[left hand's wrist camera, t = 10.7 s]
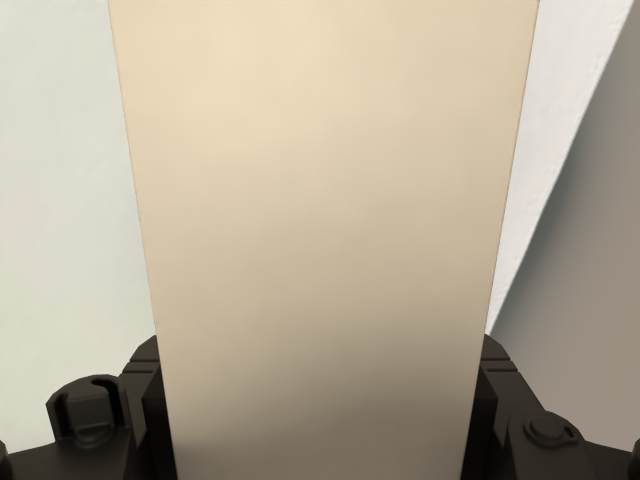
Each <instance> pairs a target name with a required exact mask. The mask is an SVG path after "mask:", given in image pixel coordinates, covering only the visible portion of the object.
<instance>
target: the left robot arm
mask: <svg viewBox="0 0 640 480" xmlns="http://www.w3.org/2000/svg"><path fill="white" fill-rule="evenodd" d="M46 408H47V411H48V415H49V419H50V422H51V426H52V430H53V433H54V437H55V442H54V443H51V444H48V445H45V446H41V447H37V448H32V449H28V450H24V451H20V452H16V453H11V454H8V452H7V449H6V446H5V444H4V443H3V442H2V441H1V440H0V480H178V479H177V472H176V465H175V458H174V451H173V444H172V438H171V431H170V424H169V417H168V410H167V403H166V397H165V390H164V383H163V376H162V369H161V363H160V356H159V349H158V342H157V335H154V336H152V337H151V338H150V339H148V340H147V341H145V342H144V343H143V344H141V345H140V346H139V347H138V348H137V350H136V351H135V353H134V354H133V356H132V357H131V359H130V362H128V363H127V365H126V366H125V368H124V369H123V371H122V374H120V375H119V377H116V376H112V375H109V374H103V375H92V376H88V377H84V378H80V379H77V380H75V381H73V382H71V383H69V384H66V385H64V386H63V387H62V388H60V389H59V390H58V391H56V392H55V393H54V394H53V395H52V396H51V397H50V399H49V400H48V401H47V403H46ZM460 480H640V439H639V440H637V441H636V442H635V445H634V448H633V451H632V452H628V451H624V450H619V449H615V448H611V447H607V446H602V445H598V444H595V443H592V442H588V441H585V439H584V438H583V436H582V435H581V433H580V432H579V430H578V429H577V428H576V427H575V426H573V425H572V424H571V423H570V422H569V421H568V420H566V419H564V418H562V417H560V416H558V415H557V414H555V413H552V412H549V411H545V409H544V408H543V406H542V405H541V403H540V402H539V400H538V399H537V397H536V396H535V395H534V393H533V391H532V390H531V389H530V387H529V386H528V384H527V383H526V381H525V380H524V378H523V377H522V375H521V374H520V372H518V369H517V368H516V366H515V365H514V363H513V362H512V361H510V357H509V356H508V354H507V353H506V351H505V350H504V348H503V347H502V345H500V344H499V343H498V342H496V341H495V340H494V339H492V338H491V337H490V336H488V335H487V334H484V339H483V345H482V351H481V357H480V363H479V369H478V375H477V382H476V388H475V394H474V400H473V406H472V412H471V418H470V424H469V430H468V436H467V442H466V448H465V454H464V460H463V466H462V472H461V478H460Z"/></svg>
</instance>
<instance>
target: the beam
mask: <svg viewBox="0 0 640 480" xmlns="http://www.w3.org/2000/svg"><path fill="white" fill-rule="evenodd" d="M107 1H108V8H109V14H110V21H111V28H112V35H113V42H114V49H115V55H116V62H117V69H118V76H119V83H120V90H121V96H122V103H123V110H124V117H125V124H126V130H127V137H128V144H129V151H130V158H131V165H132V171H133V178H134V185H135V192H136V199H137V206H138V212H139V219H140V226H141V233H142V240H143V246H144V253H145V260H146V267H147V274H148V281H149V287H150V294H151V301H152V308H153V315H154V322H155V328H156V335H157V342H158V349H159V356H160V363H161V369H162V376H163V383H164V390H165V397H166V403H167V410H168V417H169V424H170V431H171V438H172V444H173V451H174V458H175V465H176V472H177V479H178V480H460V478H461V472H462V466H463V460H464V454H465V448H466V442H467V436H468V430H469V424H470V418H471V412H472V406H473V400H474V394H475V388H476V382H477V375H478V369H479V363H480V357H481V351H482V345H483V339H484V333H485V327H486V321H487V315H488V309H489V303H490V297H491V291H492V285H493V279H494V273H495V267H496V261H497V255H498V249H499V243H500V237H501V231H502V225H503V219H504V213H505V207H506V201H507V195H508V189H509V183H510V177H511V170H512V164H513V158H514V152H515V146H516V140H517V134H518V128H519V122H520V116H521V110H522V104H523V98H524V92H525V86H526V80H527V74H528V68H529V62H530V56H531V50H532V44H533V38H534V32H535V26H536V20H537V14H538V8H539V2H540V0H107Z"/></svg>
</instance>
